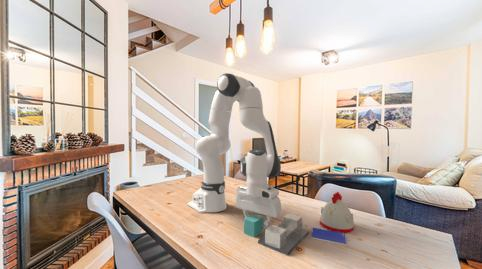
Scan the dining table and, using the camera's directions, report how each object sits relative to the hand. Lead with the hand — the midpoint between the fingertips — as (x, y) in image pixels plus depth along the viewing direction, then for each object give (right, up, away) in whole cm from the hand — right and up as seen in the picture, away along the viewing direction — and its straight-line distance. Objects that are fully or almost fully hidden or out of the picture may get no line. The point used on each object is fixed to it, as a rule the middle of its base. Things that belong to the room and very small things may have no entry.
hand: (257, 222), depth 86 cm
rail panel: (+10, -4, -4) cm, 12 cm away
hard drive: (+28, -5, -3) cm, 29 cm away
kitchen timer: (+36, -5, +7) cm, 37 cm away
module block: (-1, -4, 0) cm, 4 cm away
